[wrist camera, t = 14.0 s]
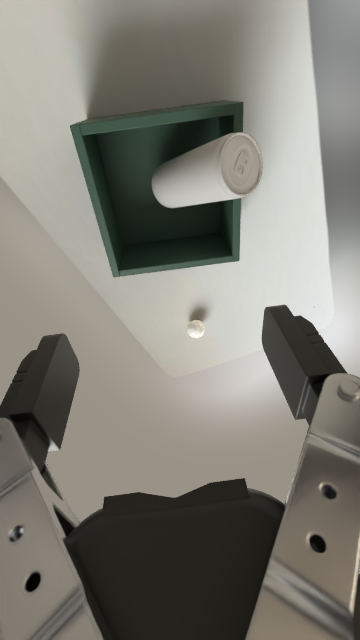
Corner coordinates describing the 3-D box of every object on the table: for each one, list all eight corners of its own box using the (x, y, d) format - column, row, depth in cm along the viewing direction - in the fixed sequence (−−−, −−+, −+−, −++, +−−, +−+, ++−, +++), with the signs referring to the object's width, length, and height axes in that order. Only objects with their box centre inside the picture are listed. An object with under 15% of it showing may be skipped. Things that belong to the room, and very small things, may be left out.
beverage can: (142, 193, 31) (209, 175, 21) (159, 152, 31) (234, 114, 21) (176, 216, 34) (249, 209, 24) (192, 178, 34) (271, 156, 24)
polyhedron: (205, 316, 47) (208, 328, 45) (201, 330, 49) (203, 342, 47) (188, 315, 47) (190, 326, 45) (185, 329, 49) (186, 341, 46)
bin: (119, 249, 39) (113, 277, 33) (86, 119, 30) (69, 125, 24) (225, 235, 39) (239, 261, 33) (224, 100, 30) (243, 101, 24)
